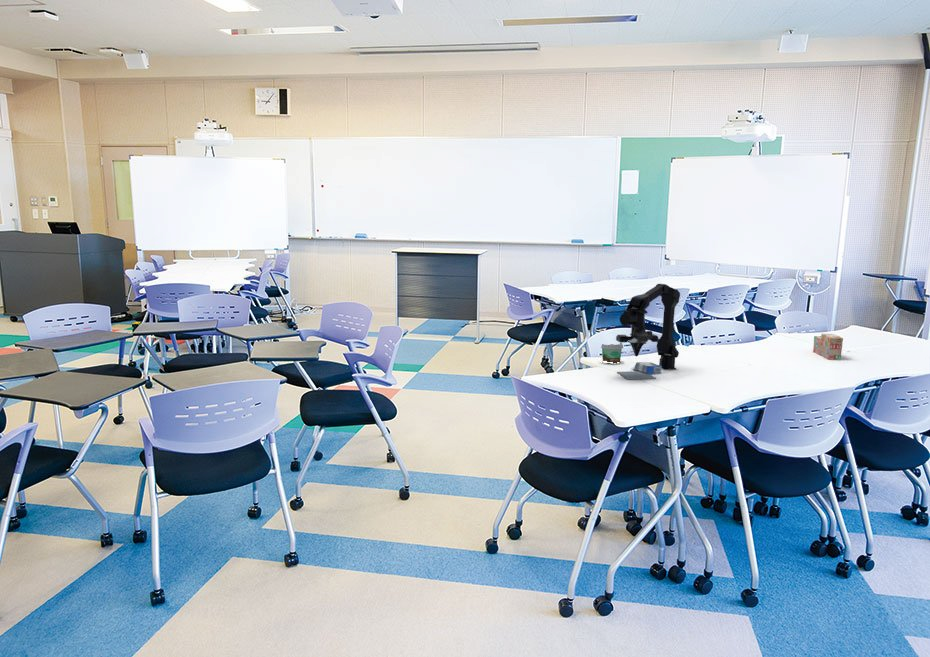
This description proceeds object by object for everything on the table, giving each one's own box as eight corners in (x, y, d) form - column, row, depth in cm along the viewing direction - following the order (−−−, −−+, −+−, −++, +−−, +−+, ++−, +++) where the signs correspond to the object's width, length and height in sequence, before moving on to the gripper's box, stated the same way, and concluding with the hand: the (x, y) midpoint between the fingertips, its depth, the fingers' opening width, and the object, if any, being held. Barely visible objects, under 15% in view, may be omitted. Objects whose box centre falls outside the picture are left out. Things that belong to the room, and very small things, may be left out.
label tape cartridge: (647, 365, 306) (631, 360, 318) (645, 373, 307) (630, 367, 318) (662, 365, 310) (645, 360, 321) (660, 373, 311) (644, 368, 322)
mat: (644, 372, 313) (644, 371, 313) (656, 379, 299) (656, 378, 299) (616, 372, 311) (616, 371, 311) (627, 379, 298) (627, 378, 298)
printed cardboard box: (812, 352, 363) (814, 330, 361) (824, 352, 362) (826, 330, 360) (828, 360, 342) (830, 337, 340) (840, 360, 341) (843, 337, 339)
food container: (607, 365, 326) (608, 346, 325) (600, 363, 332) (601, 344, 330) (627, 363, 331) (628, 344, 329) (620, 361, 337) (621, 342, 335)
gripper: (624, 326, 292) (623, 360, 295) (664, 326, 294) (662, 359, 297) (616, 322, 303) (614, 355, 306) (654, 322, 305) (652, 354, 308)
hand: (636, 356), depth 304 cm, fingers closed
